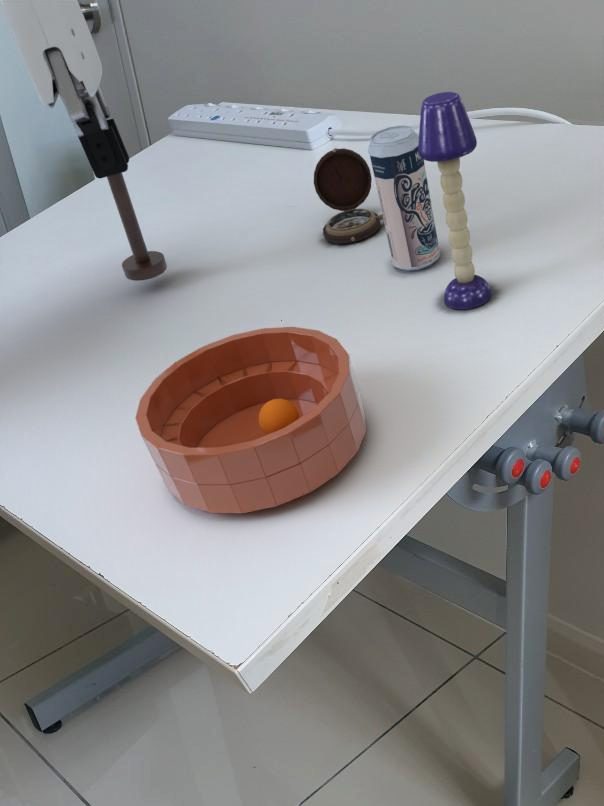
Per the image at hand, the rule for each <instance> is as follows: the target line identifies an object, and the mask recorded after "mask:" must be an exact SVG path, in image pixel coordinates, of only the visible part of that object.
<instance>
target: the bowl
mask: <svg viewBox="0 0 604 806" xmlns="http://www.w3.org/2000/svg"><path fill="white" fill-rule="evenodd" d="M350 357H351V356H350V354H349V353H348V352H347V350H346V348H345V347H344V346H343V345H342V344H341V343H340V341H339V340H338V339H337V338H335V337H333V336H331V335H328V334H326V333H325V332H323V331H320V330H317V329H311V328H305V327H297V326H282V327H281V326H279V327H264V328H259V329H254V330H249V331H245V332H239V333H236V334H231V335H229V336H226V337H224V338H221V339H219V340H216V341H213V342H210V343H208V344H205V345H203V346H201V347H198V348H197V349H196V350H194V351H192V352H190V353H189V354H187V355H185V356H183V357H182V358H180V359H178V360H177V361H175V362H174V363H172V364H171V365H170V366H169V367H167V369H165V370H164V371H163V372H161V373H160V374H159V375H158V376H156V377H155V378H154V380H153V381H152V382H151V384H150V385H149V386H148V387H147V389H146V390H145V392H144V393H143V395H142V396H141V398H140V399H139V403H138V406H137V409H136V410H137V411H136V414H135V421H136V425H137V427H138V430H139V434H140V436H141V438H142V440H143V443H144V444H145V446H146V448H147V451H148V453H149V454H150V456H151V458H152V460H153V463H154V465H155V467H156V468H157V471H158V473H159V474H160V477H161V479H162V480H163V482H164V485H165V487H166V488H167V491H168V492H169V493H170V494H171V495H173V496H174V497H175V498H176V499H177V500H178V501H180V502H181V503H182V504H183V505H184V506H187V507H190V508H194V509H197V510H200V511H204V512H207V513H211V514H246V513H251V512H255V511H261V510H266V509H271V508H275V507H279V506H281V505H283V504H286V503H288V502H291V501H293V500H295V499H298V498H301V497H303V496H305V495H307V494H310V493H312V492H313V491H315V490H316V489H318V488H319V487H321V486H323V485H324V484H325V483H327V482H328V481H329V480H331V479H332V478H334V477H336V476H337V475H338V474H340V472H341V471H342V470H343V469H344V468H345V467H346V466H347V464H348V463H349V462H350V461H351V460H352V459H353V458H354V457H355V456H356V454H357V453H358V452H359V450H360V447H361V444H362V442H363V440H364V437H365V435H366V433H367V427H366V426H367V424H366V413H365V409H364V406H363V401H362V398H361V395H360V390H359V388H358V382H357V380H356V376H355V372H354V368H353V364H352V361H351V358H350ZM273 399H285V400H287V401H289V402H291V403H292V404H293V405H294V406H295V407H296V409H297V410H298V413H299V419H298V420H296V421H294V422H293V423H291V424H290V425H288V426H287V427H285V428H283V429H281V430H278V431H276V432H273V433H271V434H268V435H266V434H265V433H264V432H263V430H262V429H261V427H260V424H259V413H260V411H261V409H262V407H263V406H264V405H265V404H266V403H267V402H268V401H270V400H273Z"/></svg>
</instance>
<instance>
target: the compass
mask: <svg viewBox="0 0 604 806" xmlns="http://www.w3.org/2000/svg"><path fill="white" fill-rule="evenodd" d="M372 179H373V178H372V173H371V169H370V166H369V165H368V163H367V160H365V159H364V157H362V155H361V154H359V153H358V152H356V151H354V150H353V149H348V148H337V147H335V148H333V149H331V150H330V151H327V152H326V153H325V154H323V156H321V157H320V159H319V160H318V162H317V163H316V165H315V169H314V172H313V186H314V190H315V193H316V195H317V196H318V198H319V200H320V201H321V202H322V203H323V204H324V205H325V206H327V207H329V208H330V209H333V210H336V211H340V212H337V213H336V214H335V215H334V216H331V218H330V219H328V221H327V223H326V224H325V225H324V226H323V228H322V234H323V237H324V238H325V240H326V241H328V242H330V243H332V244H351V243H356V242H359V241H363V240H365V239H367V238H369V237H371V236H372V235H374V234H375V233H376V232H377V231H378V230H379V229H380V227H381V225H382V224H381V221H382V220H383V221H384V219H383V214H382V213H380V214H378V213H376V212H374V211H372V210H369V209H367V208H359V207H360V206H361V205H362V204H363V203H364V202H365V201H366V200H367V198H368V197H369V195H370V192H371V189H372Z"/></svg>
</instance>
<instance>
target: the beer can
mask: <svg viewBox="0 0 604 806" xmlns="http://www.w3.org/2000/svg"><path fill="white" fill-rule="evenodd" d="M418 144H419V134H417V132H416V130H415V129H414V128H413V126H409V125H395V126H388V127H386V128H382V129H381V130H378V131H376V132H375V133H373V135H371V136H370V140H369V145H368V148H367V153H368V155H369V158H370V163H371V168H372V173H373V176H374V177H373V178H374V181H375V186H376V191H377V197H378V199H379V204H380V209H381V214H383V219H384V220H383V223H384V228H385V232H386V238H387V243H388V247H389V251H390V257H391V264H392V265H393V266H394V267H395V268H397V269H399V270H402V271H408V272H414V271H420V270H424V269H426V268H428V267H430V266H432V264H434V262H436V261H438V259H439V258H440V256H441V250H440V245H439V244H440V243H439V239H438V234H437V228H436V221H435V217H434V211H433V205H432V200H431V193H430V188H429V183H428V177H427V169H426V164H425V160H423V159H422V158H421V157H420V156H419V152H418Z"/></svg>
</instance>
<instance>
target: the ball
mask: <svg viewBox="0 0 604 806" xmlns="http://www.w3.org/2000/svg"><path fill="white" fill-rule="evenodd" d="M298 419H299V413H298V410H297V409H296V407H295V406H294V405H293V404H292V403H291V402H289V401H287V400H285V399H273V400H270V401H268V402H267V403H266V404H265V405H264V406H263V407H262V409H261V411H260V413H259V424H260V427H261V429H262V430H263V432H264V433H265V434H266V435H268V434H271V433H273V432H276V431H278V430H281V429H283V428H285V427H287V426H288V425H290V424H291V423H293V422H294V421H296V420H298Z"/></svg>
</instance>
